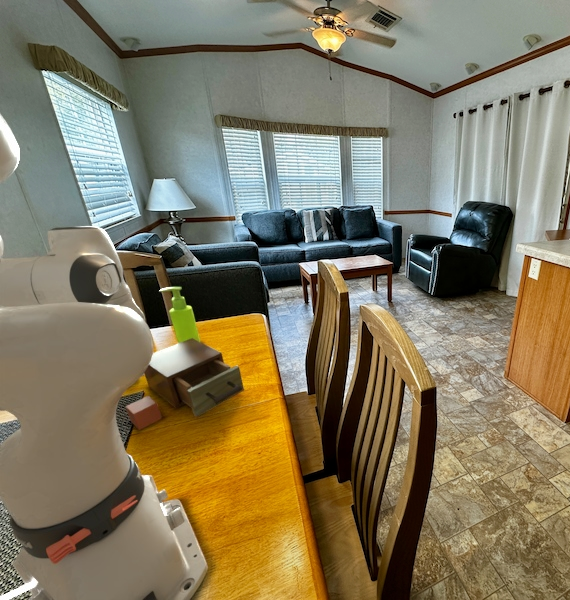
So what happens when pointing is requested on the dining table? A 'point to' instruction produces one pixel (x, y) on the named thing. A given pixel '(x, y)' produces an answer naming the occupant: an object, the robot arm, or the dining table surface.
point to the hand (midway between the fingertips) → (128, 369)
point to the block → (143, 412)
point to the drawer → (208, 385)
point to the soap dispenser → (182, 317)
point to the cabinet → (177, 366)
